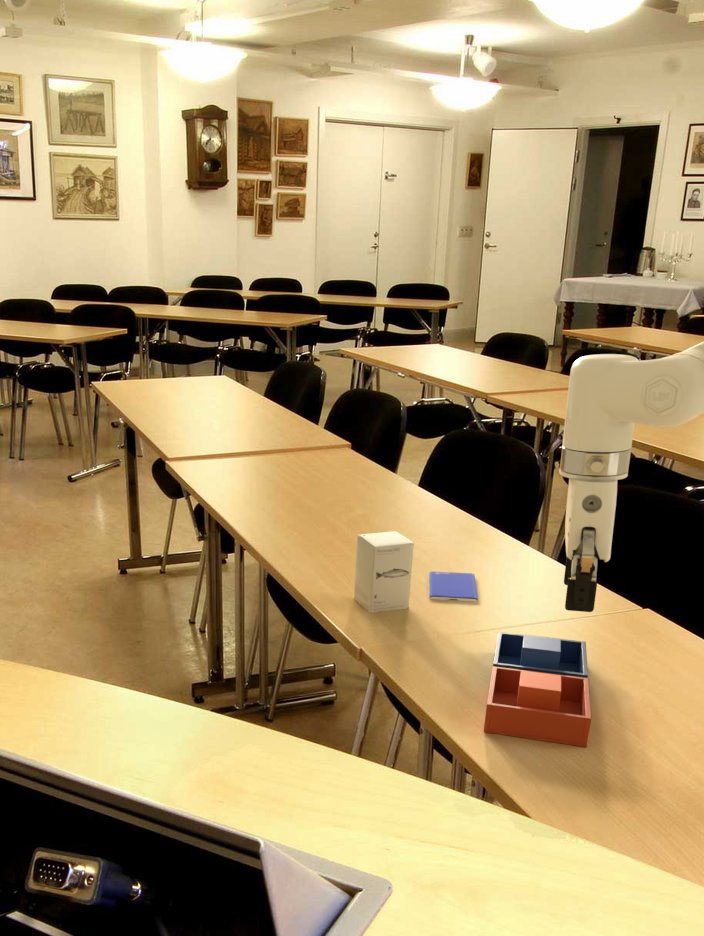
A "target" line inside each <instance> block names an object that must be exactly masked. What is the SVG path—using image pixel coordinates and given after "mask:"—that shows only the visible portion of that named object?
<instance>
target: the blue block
mask: <svg viewBox="0 0 704 936" xmlns="http://www.w3.org/2000/svg"><path fill="white" fill-rule="evenodd" d="M523 635H524V637H523V644H522V652H521V660H520V666H528V667H536V668H544V669H552V670H558V668H559V661H560V654H561V639H562V638H560V637H559V638H558V637H550V636H542V635H531V634H523Z"/></svg>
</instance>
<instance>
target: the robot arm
mask: <svg viewBox="0 0 704 936" xmlns="http://www.w3.org/2000/svg"><path fill="white" fill-rule="evenodd" d="M569 372H570V373H569V380H568V389H567V398H566V406H565V407H566V408H565V416H564V417H565V418H564V425H563V435H562V445H561V452H560V453H561V454H560V463H559V470H558V473H559V475H560V476H562V477H563V478H568V486H567V487H568V488H567V496H566V506H565V520H564V521H565V524H564V539H565V554H566V560H565V568H564V575H563V584H564V586H567V587H566V595H565V603H564V609H565V610H566V611H570V612H583V613H592V612H593V611H594V610H595V603H596V595H597V587H598V579H597V572H598V560H603V563H608V562H609V561H610V560H611V557H612V556H611V555H612V545H613V544H612V543H613V534H614V528H615V527H614V526H615V518H616V508H617V498H618V497H617V496H618V480H624V479H626V478H627V477H628V476H629V468H630V461H631V453H632V446H633V438H634V431H635V424H639V425H643V426H647V427H652V428H660V429H668V428H675V427H680V426H683V425H685V424H687V423H689V422H690V421H692V420H694V419H696V418H698V417H699V416H701V415H704V341H702V342H699V343H698V344H696V345H694V346H691V347H689V348H687V349H685V350H683V351H680V352H676V353H674V354H671V355H668V356H665V357H664V356H663V357H661V358H654V359H645V360H640V359H638V358H637V357H635V356H633V355H629V354H617V353H600V354H599V353H598V354H588V355H584V356H580V357H579V358H577V359H576V360H575V361H574V362H573V363H572V365H571V368H570V371H569Z"/></svg>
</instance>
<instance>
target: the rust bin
mask: <svg viewBox="0 0 704 936" xmlns="http://www.w3.org/2000/svg"><path fill="white" fill-rule="evenodd" d="M522 671H527V670H522ZM530 672H535V671H530ZM520 673H521V670H519V669H511V668H503V667H495V666H493V665H492V669H491V676H490V680H489V688H488V695H487V702H486V709H485V716H484V725H483V732H484V733H487V734H489V733H490V734H496V735H502V736H509V737H515V738H516V737H517V738H523V739H528V740H529V739H530V740H536V741H542V742H548V743H556V744H562V745H570V746H576V747H583V748H587V747H588V741H589V734H590V728H591V722H592V713H591V712H592V711H591V699H590V698H591V697H590V695H591V694H590V683H589V677H588V678H583V677H575V676H567V675H561V697H560V703H559V710H558V712H553V711H545V710H538V709H531V708H524V707H517V706H516V704H517V696H518V688H519V681H520ZM538 673H543V672H538ZM545 674H551V673H545ZM553 675H559V674H553Z"/></svg>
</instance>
